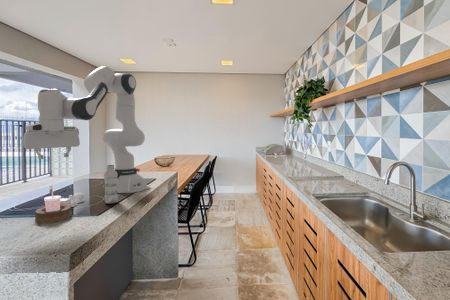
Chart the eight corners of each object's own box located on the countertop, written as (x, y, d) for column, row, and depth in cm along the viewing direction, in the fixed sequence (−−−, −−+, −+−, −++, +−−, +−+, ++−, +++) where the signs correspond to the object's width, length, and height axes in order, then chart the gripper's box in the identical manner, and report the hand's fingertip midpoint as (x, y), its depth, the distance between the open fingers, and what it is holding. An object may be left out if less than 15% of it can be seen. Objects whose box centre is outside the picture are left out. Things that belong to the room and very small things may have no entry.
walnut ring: (66, 211, 115) (65, 202, 114) (75, 217, 106) (74, 208, 106) (33, 218, 105) (32, 208, 105) (40, 225, 97) (39, 215, 97)
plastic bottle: (113, 205, 123) (112, 166, 122) (101, 204, 125) (100, 165, 123) (121, 201, 130) (120, 164, 128) (109, 201, 131) (108, 164, 130)
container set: (65, 212, 113) (65, 200, 113) (53, 212, 113) (53, 201, 112) (86, 200, 133) (85, 190, 133) (76, 200, 133) (75, 190, 132)
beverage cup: (47, 216, 107) (45, 184, 107) (63, 214, 110) (62, 183, 109) (42, 220, 102) (41, 187, 101) (59, 219, 104) (58, 186, 103)
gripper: (76, 126, 116) (77, 155, 117) (20, 126, 100) (23, 159, 102) (81, 126, 112) (82, 156, 113) (24, 126, 96) (26, 161, 97)
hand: (54, 158), depth 107 cm, fingers open, 8 cm apart
